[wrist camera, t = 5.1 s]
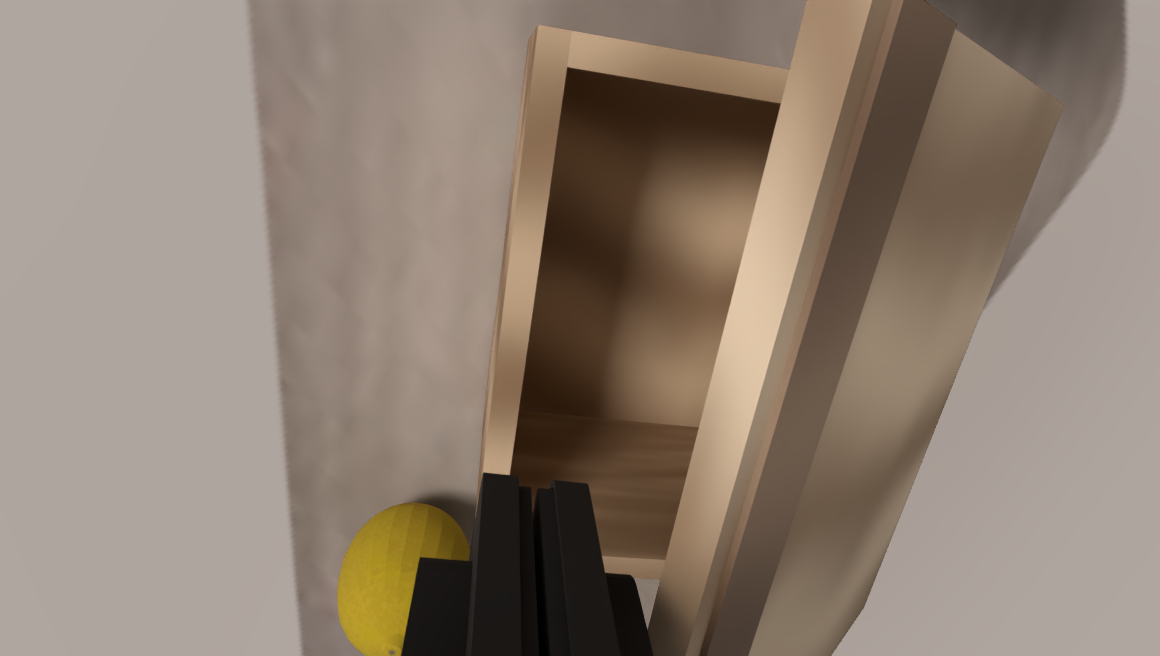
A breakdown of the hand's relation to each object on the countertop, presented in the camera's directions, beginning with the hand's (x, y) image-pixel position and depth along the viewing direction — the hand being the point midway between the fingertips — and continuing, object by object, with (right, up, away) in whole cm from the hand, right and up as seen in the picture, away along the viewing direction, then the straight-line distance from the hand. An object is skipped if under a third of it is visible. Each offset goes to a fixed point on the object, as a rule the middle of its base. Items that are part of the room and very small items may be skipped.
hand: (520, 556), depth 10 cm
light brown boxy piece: (+4, +6, +18) cm, 20 cm away
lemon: (-7, -6, +22) cm, 24 cm away
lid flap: (+7, +1, +4) cm, 8 cm away
